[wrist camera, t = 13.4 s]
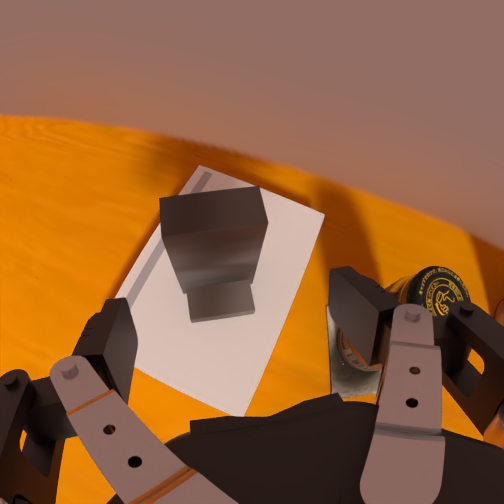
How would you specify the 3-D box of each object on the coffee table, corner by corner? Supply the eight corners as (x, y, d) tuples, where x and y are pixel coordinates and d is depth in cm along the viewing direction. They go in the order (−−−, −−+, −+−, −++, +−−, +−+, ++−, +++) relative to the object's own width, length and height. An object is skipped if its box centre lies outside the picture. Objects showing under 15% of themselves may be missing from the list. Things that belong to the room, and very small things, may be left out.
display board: (200, 183, 32) (199, 164, 29) (316, 230, 30) (325, 214, 28) (105, 346, 24) (91, 340, 21) (240, 415, 22) (242, 419, 20)
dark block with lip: (246, 254, 25) (258, 182, 17) (258, 312, 23) (279, 265, 15) (179, 263, 25) (159, 195, 16) (187, 323, 22) (164, 282, 14)
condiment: (393, 304, 28) (470, 253, 17) (401, 388, 24) (491, 375, 13) (325, 306, 27) (387, 250, 16) (330, 399, 24) (405, 400, 13)
